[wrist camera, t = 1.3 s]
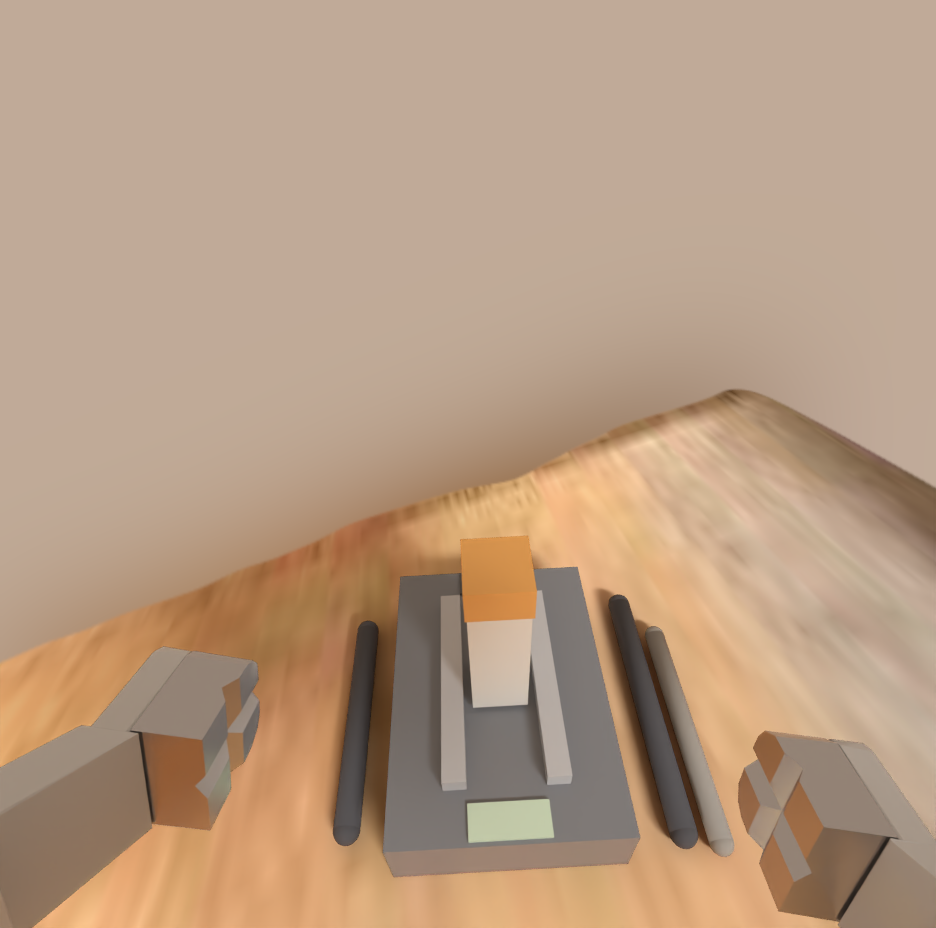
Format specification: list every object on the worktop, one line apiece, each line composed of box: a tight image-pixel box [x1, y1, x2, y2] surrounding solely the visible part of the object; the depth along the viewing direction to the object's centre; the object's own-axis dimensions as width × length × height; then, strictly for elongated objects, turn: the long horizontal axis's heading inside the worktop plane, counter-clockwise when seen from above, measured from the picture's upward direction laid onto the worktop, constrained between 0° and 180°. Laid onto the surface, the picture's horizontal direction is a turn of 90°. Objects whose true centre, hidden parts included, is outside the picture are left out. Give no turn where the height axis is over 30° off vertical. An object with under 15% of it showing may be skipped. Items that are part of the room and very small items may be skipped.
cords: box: [333, 595, 734, 857], centre depth 35 cm, size 16×21×1 cm
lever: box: [460, 536, 537, 708], centre depth 29 cm, size 3×3×10 cm
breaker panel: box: [383, 567, 640, 877], centre depth 34 cm, size 16×12×5 cm
